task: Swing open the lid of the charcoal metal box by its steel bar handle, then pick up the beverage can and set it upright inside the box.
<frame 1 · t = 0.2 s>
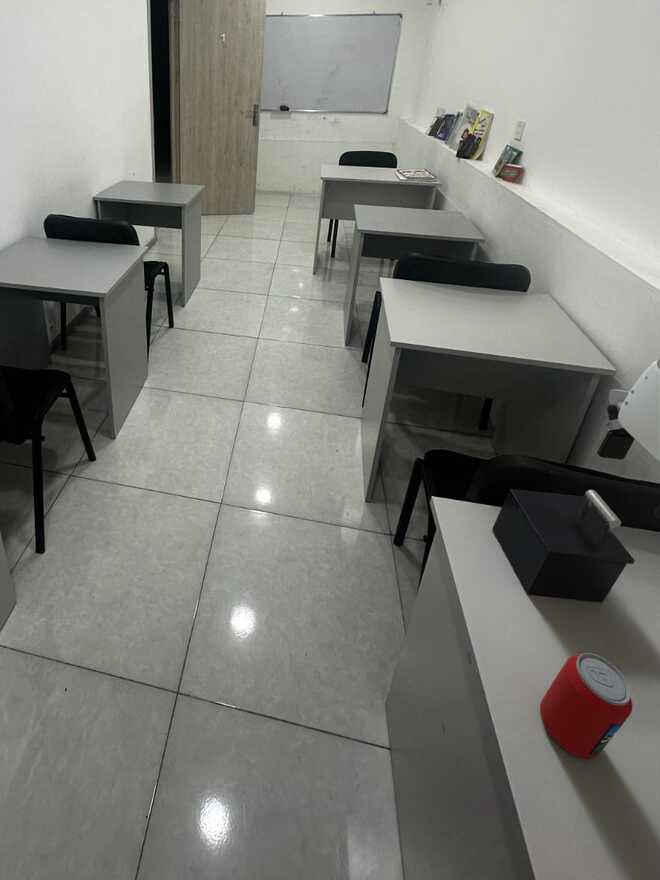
hand: (636, 485, 60), 33 cm above the table, tool pointing down, fingers open, 9 cm apart
lid: (572, 513, 80), point 13 cm above the table, hinge at 0.0°
beverage can: (566, 730, 63), on the table
box: (543, 563, 85), on the table
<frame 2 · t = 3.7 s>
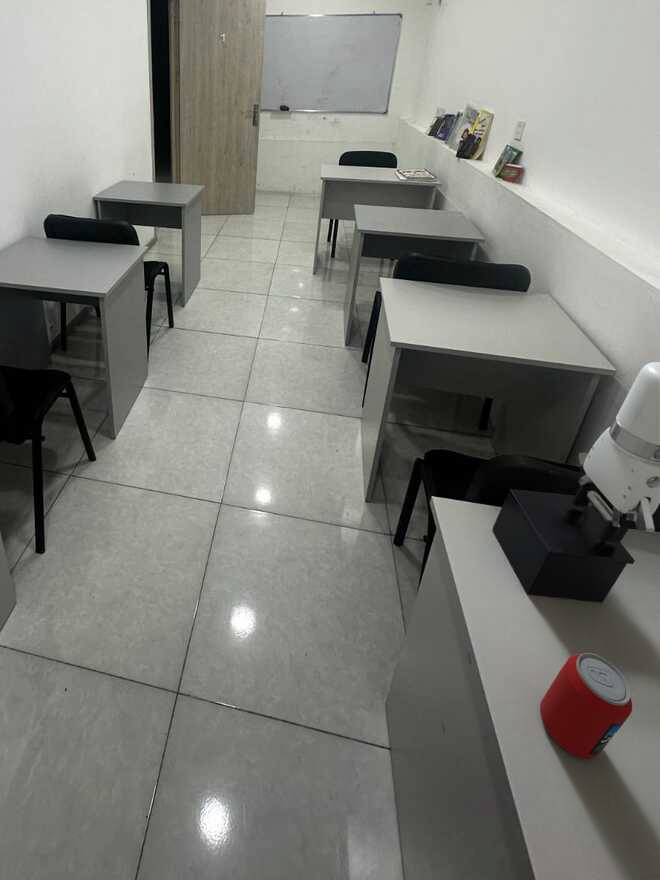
hand: (595, 521, 81), 11 cm above the table, tool pointing down, fingers closed on lid, 6 cm apart
lid: (572, 513, 80), point 13 cm above the table, hinge at 0.0°, touching gripper
everything else where it was.
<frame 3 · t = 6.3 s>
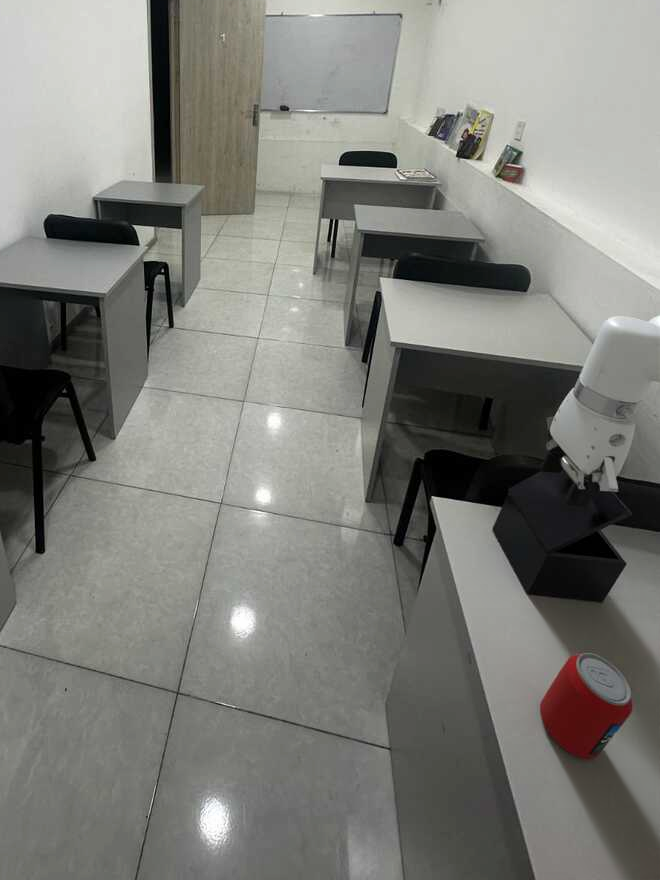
hand: (562, 486, 78), 18 cm above the table, tool pointing down, fingers closed on lid, 6 cm apart
lid: (556, 492, 79), point 17 cm above the table, hinge at 50.3°, touching gripper
everything else where it was.
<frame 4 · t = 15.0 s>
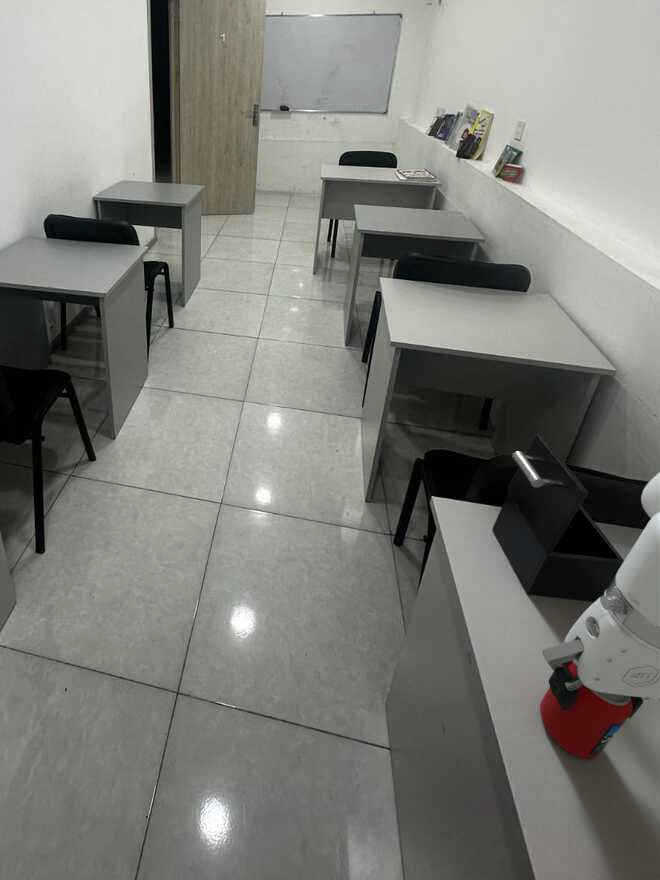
hand: (588, 699, 60), 7 cm above the table, tool pointing down, fingers closed on beverage can, 6 cm apart
lid: (528, 489, 79), point 17 cm above the table, hinge at 86.7°
beverage can: (566, 730, 63), on the table, touching gripper
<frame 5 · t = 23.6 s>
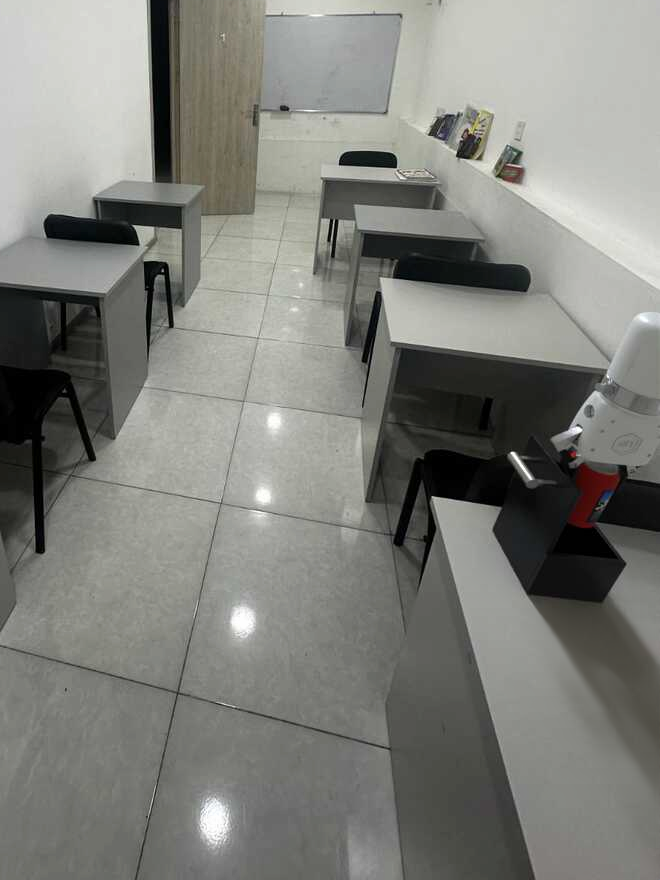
hand: (585, 482, 77), 20 cm above the table, tool pointing down, fingers closed on beverage can, 6 cm apart
lid: (525, 489, 79), point 17 cm above the table, hinge at 90.5°, touching gripper
beverage can: (568, 514, 80), point 12 cm above the table, touching gripper
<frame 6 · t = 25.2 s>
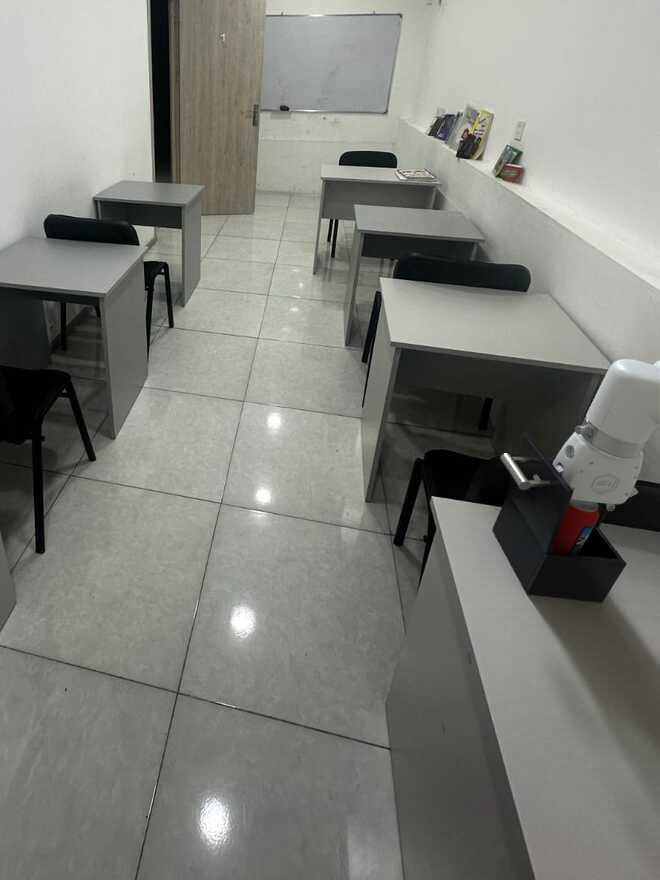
hand: (567, 517, 81), 12 cm above the table, tool pointing down, fingers closed on beverage can, 6 cm apart
lid: (521, 490, 79), point 17 cm above the table, hinge at 96.0°, touching gripper
beverage can: (551, 547, 84), point 4 cm above the table, touching gripper
when the fingers open (10 cm above the table, at t = 29.7 s): beverage can drops 2 cm, resting on box.
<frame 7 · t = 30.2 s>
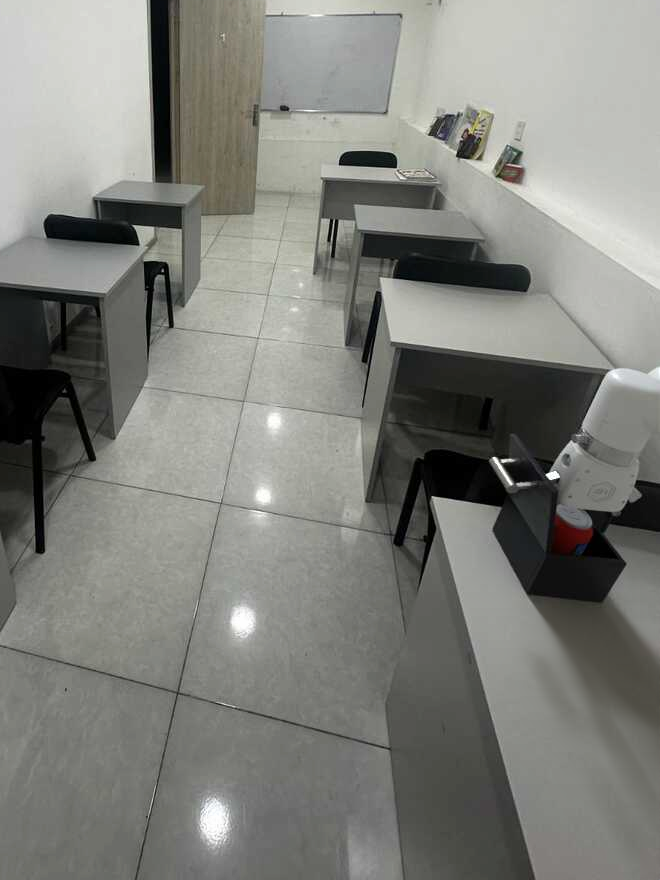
hand: (566, 522, 81), 11 cm above the table, tool pointing down, fingers open, 9 cm apart
lid: (514, 492, 79), point 16 cm above the table, hinge at 105.2°, touching gripper
beverage can: (546, 561, 85), point 1 cm above the table, touching box
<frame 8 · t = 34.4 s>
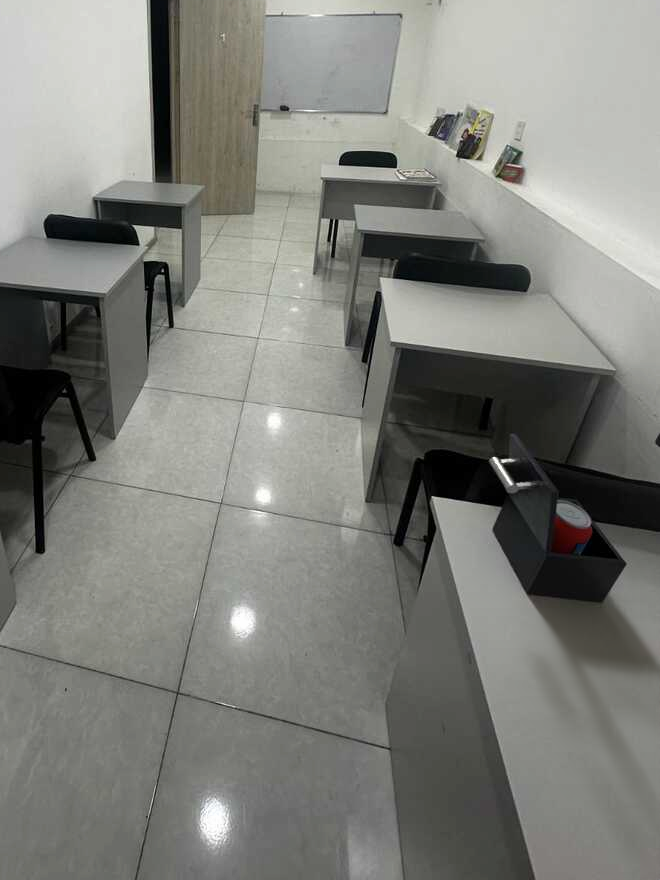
lid: (514, 492, 79), point 16 cm above the table, hinge at 105.2°
everything else where it was.
at the end: lid at +105° (first picture: +0°); beverage can inside the target area in the box (0.3 cm from its centre), point 0.5 cm above the box's base; beverage can tilted 0° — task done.
